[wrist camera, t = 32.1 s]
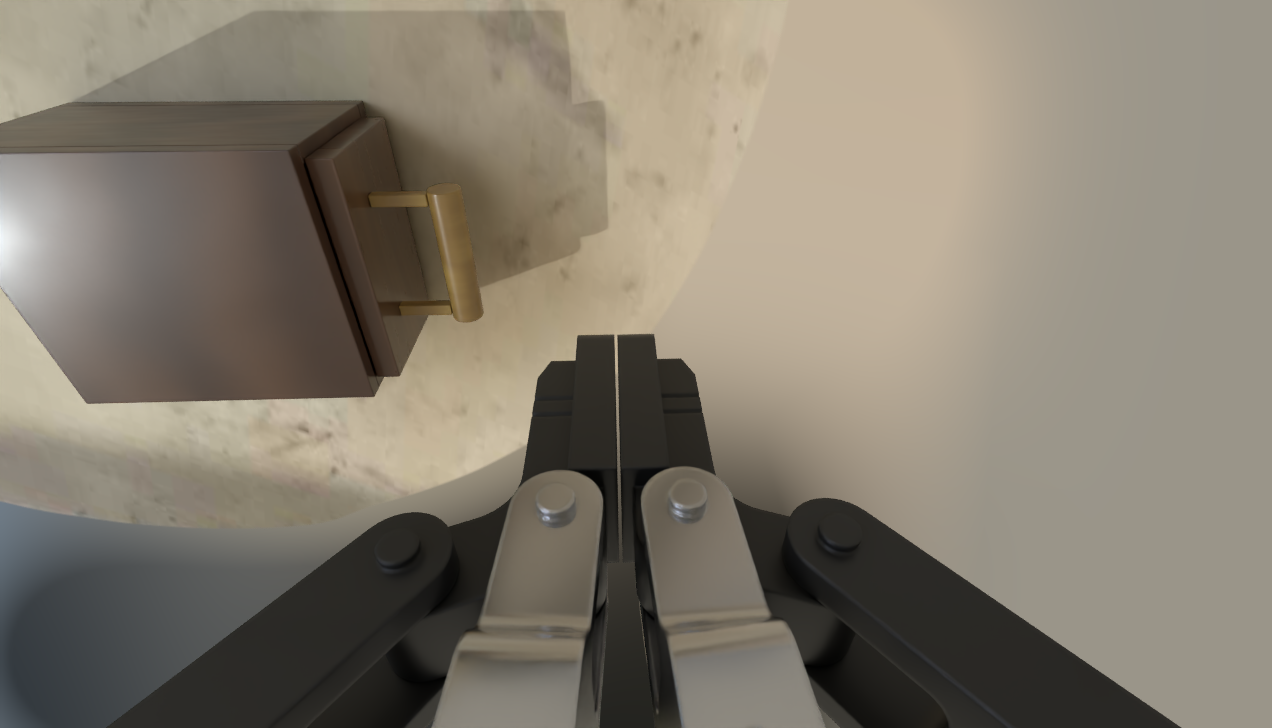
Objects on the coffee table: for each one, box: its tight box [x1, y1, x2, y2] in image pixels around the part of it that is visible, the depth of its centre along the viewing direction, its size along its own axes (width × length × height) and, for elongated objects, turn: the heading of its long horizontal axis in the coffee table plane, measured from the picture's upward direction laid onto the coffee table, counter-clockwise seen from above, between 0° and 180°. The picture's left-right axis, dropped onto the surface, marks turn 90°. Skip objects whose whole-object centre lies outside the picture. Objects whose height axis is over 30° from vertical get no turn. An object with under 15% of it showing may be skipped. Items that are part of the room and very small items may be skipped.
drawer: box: [303, 117, 484, 377], centre depth 30 cm, size 18×11×7 cm, turn 90°
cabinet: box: [0, 101, 384, 404], centre depth 30 cm, size 15×13×9 cm
